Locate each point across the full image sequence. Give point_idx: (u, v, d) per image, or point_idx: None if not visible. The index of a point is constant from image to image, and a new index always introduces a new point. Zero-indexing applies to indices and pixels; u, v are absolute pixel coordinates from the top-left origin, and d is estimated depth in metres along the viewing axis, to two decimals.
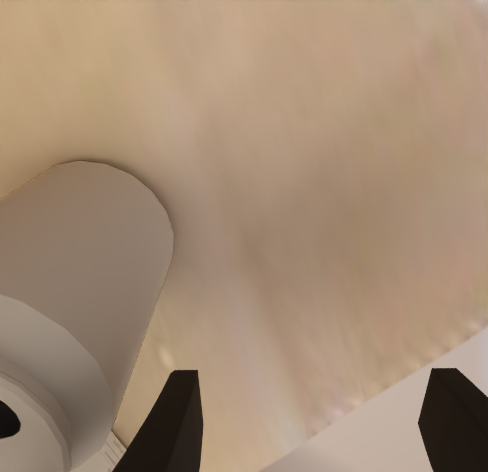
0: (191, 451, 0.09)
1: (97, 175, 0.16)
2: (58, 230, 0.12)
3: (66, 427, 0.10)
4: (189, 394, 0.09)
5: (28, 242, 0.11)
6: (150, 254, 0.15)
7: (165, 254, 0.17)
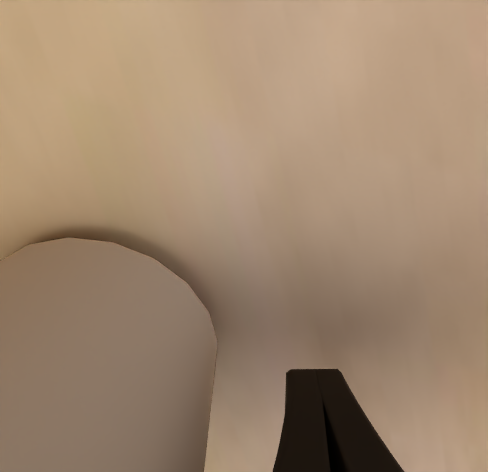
0: None
1: (100, 272, 0.09)
2: (14, 469, 0.05)
3: None
4: (319, 393, 0.09)
5: None
6: (194, 425, 0.08)
7: (211, 393, 0.10)
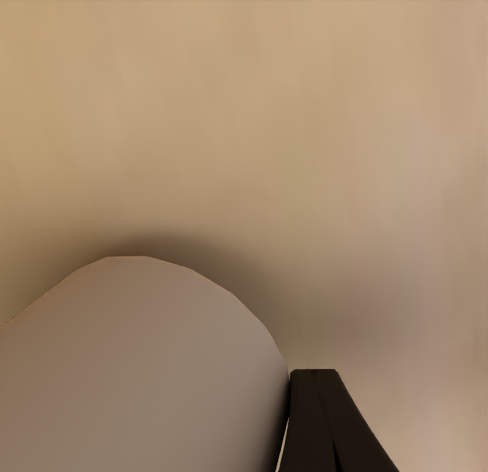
0: None
1: (169, 305, 0.08)
2: None
3: None
4: (323, 393, 0.09)
5: None
6: None
7: (275, 468, 0.09)
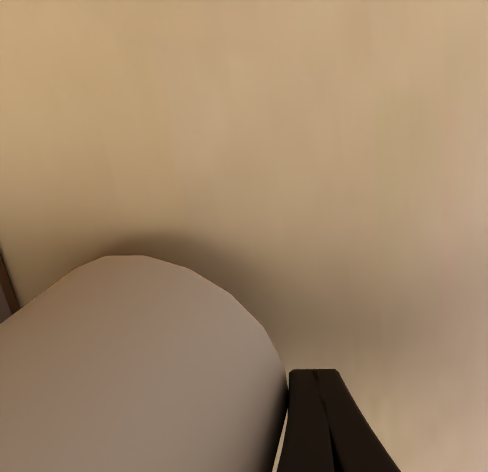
0: None
1: (166, 304, 0.08)
2: None
3: None
4: (322, 393, 0.09)
5: None
6: None
7: (271, 468, 0.09)
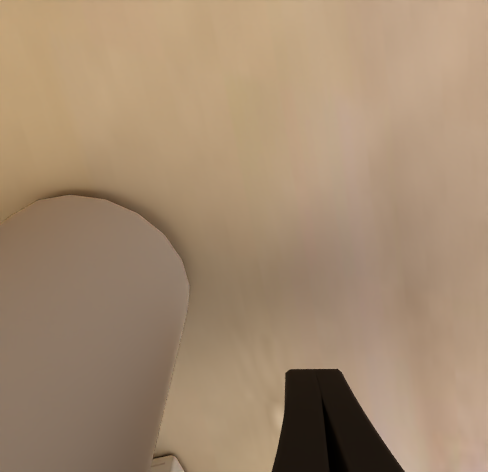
0: None
1: (94, 218, 0.12)
2: (34, 321, 0.08)
3: None
4: (318, 393, 0.09)
5: None
6: (163, 330, 0.11)
7: (180, 319, 0.13)
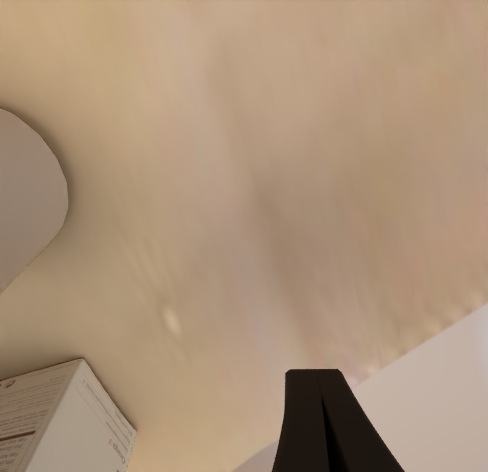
0: None
1: None
2: None
3: None
4: (318, 393, 0.09)
5: None
6: (13, 191, 0.14)
7: (45, 198, 0.16)
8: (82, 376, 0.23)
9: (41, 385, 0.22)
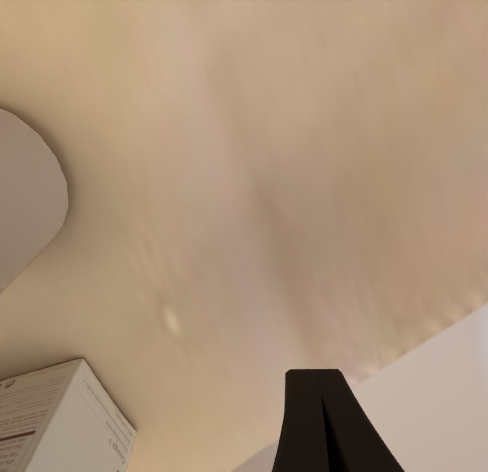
0: None
1: None
2: None
3: None
4: (318, 393, 0.09)
5: None
6: (13, 190, 0.14)
7: (45, 198, 0.16)
8: (82, 376, 0.23)
9: (41, 385, 0.22)
